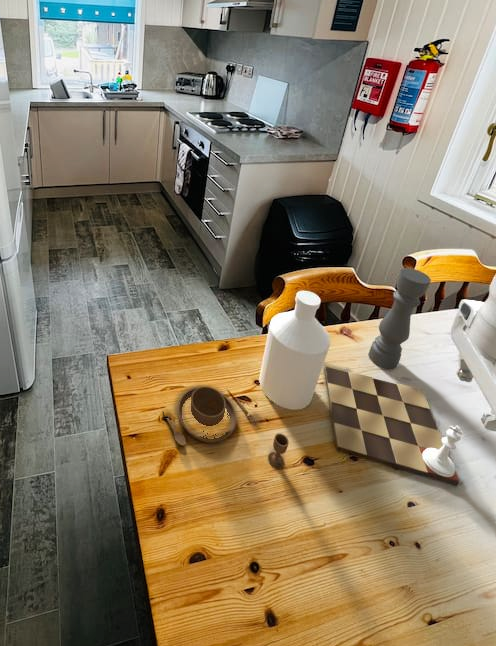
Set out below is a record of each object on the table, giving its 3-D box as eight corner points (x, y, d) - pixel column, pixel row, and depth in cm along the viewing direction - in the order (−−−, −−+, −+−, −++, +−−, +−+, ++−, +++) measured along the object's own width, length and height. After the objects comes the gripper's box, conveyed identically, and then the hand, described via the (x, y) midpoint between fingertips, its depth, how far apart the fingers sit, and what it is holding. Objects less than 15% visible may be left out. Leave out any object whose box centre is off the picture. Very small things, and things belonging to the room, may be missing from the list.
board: (420, 393, 88) (422, 389, 87) (457, 486, 71) (460, 481, 70) (323, 370, 93) (325, 365, 93) (336, 450, 76) (337, 446, 75)
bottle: (281, 418, 82) (307, 324, 71) (247, 373, 92) (265, 286, 81) (325, 400, 86) (355, 310, 75) (287, 359, 96) (309, 275, 85)
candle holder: (391, 374, 93) (427, 288, 83) (364, 358, 97) (394, 274, 87) (400, 360, 97) (435, 276, 86) (373, 345, 101) (404, 264, 91)
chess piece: (425, 444, 76) (443, 408, 72) (456, 463, 73) (477, 427, 69) (419, 462, 73) (438, 426, 69) (451, 483, 70) (473, 446, 66)
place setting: (223, 380, 90) (226, 361, 87) (289, 463, 73) (295, 442, 71) (155, 408, 83) (157, 388, 80) (211, 507, 66) (215, 486, 64)
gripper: (580, 401, 50) (534, 468, 56) (499, 301, 68) (470, 360, 74) (520, 388, 52) (481, 455, 58) (456, 293, 70) (431, 351, 76)
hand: (475, 400), depth 66 cm, fingers open, 8 cm apart
